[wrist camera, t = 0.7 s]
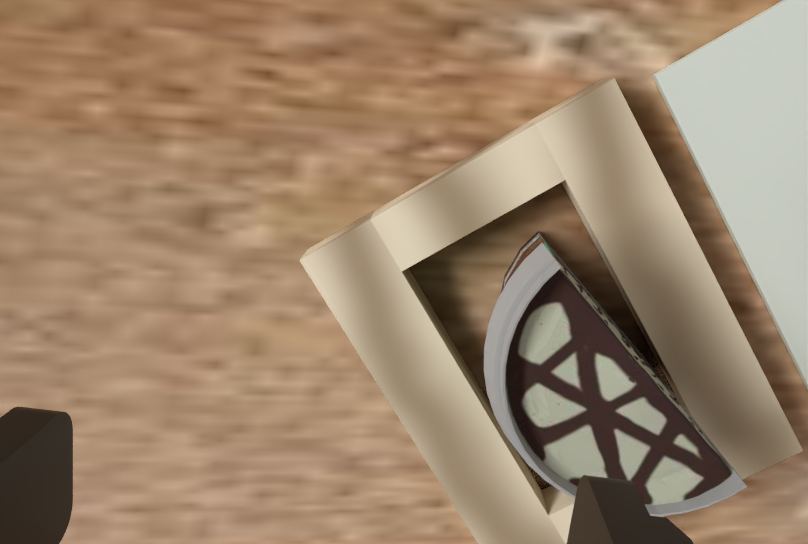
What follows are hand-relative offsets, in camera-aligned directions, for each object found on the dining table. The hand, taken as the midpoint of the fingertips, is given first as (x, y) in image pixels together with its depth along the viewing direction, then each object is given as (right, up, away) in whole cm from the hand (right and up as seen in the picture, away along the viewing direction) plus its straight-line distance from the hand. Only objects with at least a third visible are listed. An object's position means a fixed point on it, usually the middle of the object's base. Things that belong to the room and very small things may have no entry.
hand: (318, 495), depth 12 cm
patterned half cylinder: (+9, 0, +26) cm, 27 cm away
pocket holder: (+9, 0, +26) cm, 27 cm away
